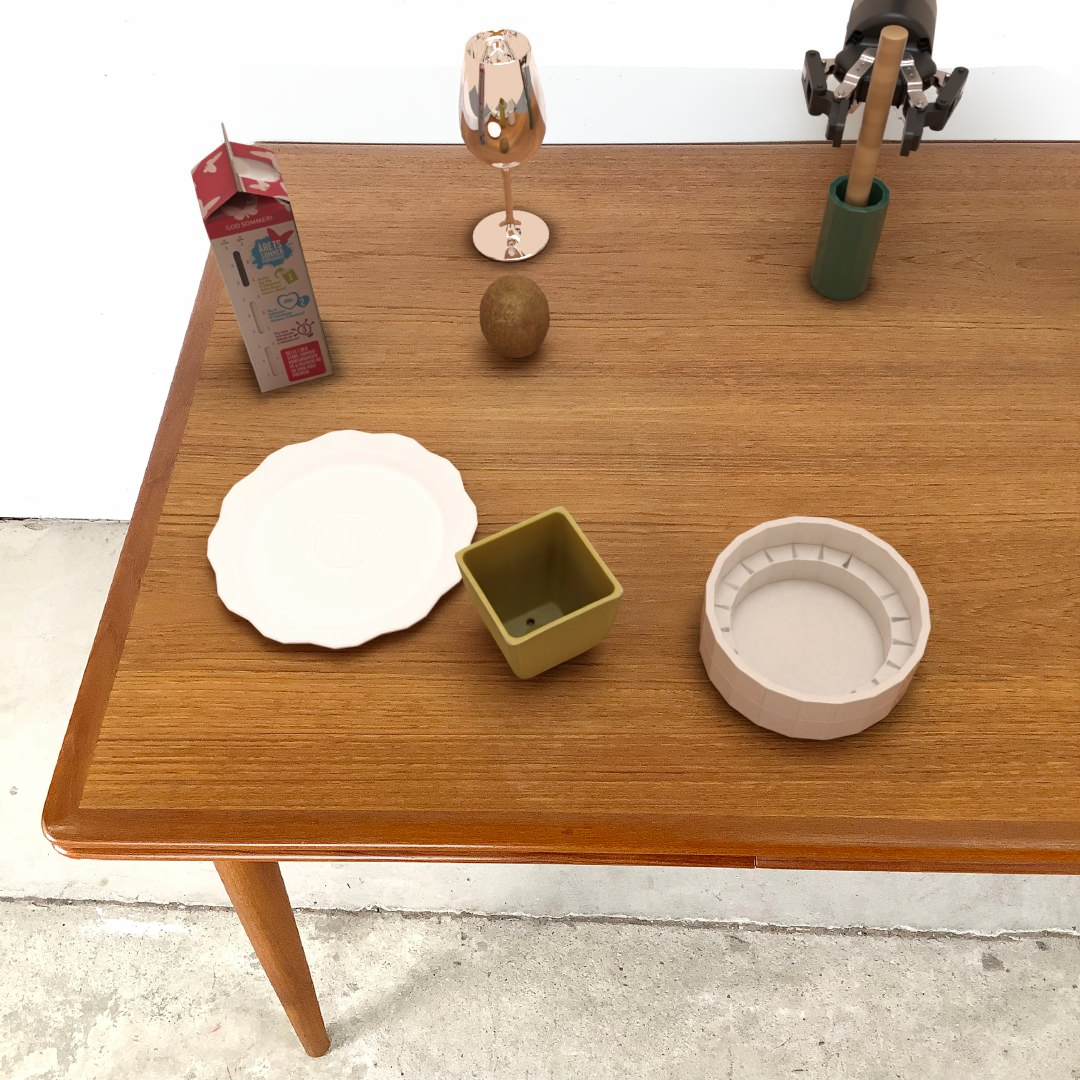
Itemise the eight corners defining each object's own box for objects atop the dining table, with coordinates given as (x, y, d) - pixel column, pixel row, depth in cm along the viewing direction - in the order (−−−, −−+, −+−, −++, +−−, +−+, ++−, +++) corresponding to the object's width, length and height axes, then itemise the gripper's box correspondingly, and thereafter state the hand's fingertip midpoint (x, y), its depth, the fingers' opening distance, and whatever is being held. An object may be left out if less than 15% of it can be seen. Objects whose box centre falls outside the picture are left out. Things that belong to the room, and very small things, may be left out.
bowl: (777, 530, 89) (788, 482, 84) (949, 639, 82) (972, 594, 77) (657, 657, 82) (661, 613, 77) (833, 785, 76) (849, 747, 71)
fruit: (541, 319, 104) (538, 250, 97) (559, 366, 100) (557, 298, 93) (475, 333, 103) (467, 265, 96) (491, 381, 99) (484, 313, 93)
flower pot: (565, 572, 87) (563, 501, 80) (623, 658, 82) (626, 591, 75) (463, 620, 85) (451, 552, 77) (517, 711, 80) (509, 647, 73)
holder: (830, 255, 107) (850, 165, 99) (877, 278, 105) (901, 189, 97) (799, 283, 105) (816, 194, 97) (846, 308, 103) (868, 219, 95)
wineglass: (543, 267, 108) (535, 75, 91) (463, 259, 109) (441, 68, 92) (556, 215, 112) (551, 23, 96) (480, 208, 113) (462, 18, 97)
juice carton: (319, 324, 104) (263, 113, 86) (334, 373, 100) (279, 163, 83) (248, 342, 103) (177, 132, 85) (261, 392, 99) (190, 183, 82)
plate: (179, 641, 85) (172, 630, 83) (257, 433, 97) (253, 420, 95) (450, 670, 82) (448, 659, 81) (496, 454, 94) (495, 441, 93)
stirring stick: (829, 265, 106) (883, 21, 86) (850, 268, 105) (909, 24, 86) (825, 283, 104) (879, 39, 85) (847, 287, 104) (907, 42, 84)
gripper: (816, -22, 98) (789, 89, 88) (986, -5, 95) (977, 111, 86) (802, 58, 104) (776, 170, 94) (962, 76, 101) (952, 193, 92)
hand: (872, 142), depth 90 cm, fingers open, 4 cm apart
